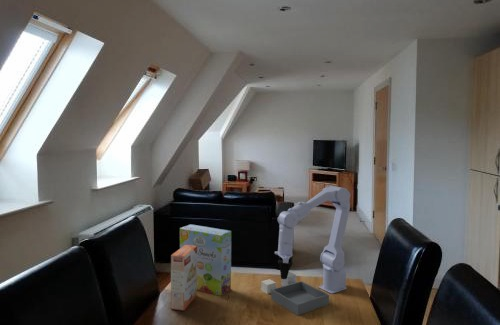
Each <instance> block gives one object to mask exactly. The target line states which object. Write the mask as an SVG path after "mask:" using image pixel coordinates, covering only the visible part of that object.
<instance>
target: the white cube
mask: <svg viewBox="0 0 500 325" xmlns="http://www.w3.org/2000/svg"><path fill="white" fill-rule="evenodd" d="M275 288H277V282H276V281H274V280H273V279H270V278H269V279H265V280H264V279H263V280H260V291H261V292H263V293H265V294H266V295H268V294H271V289H275Z"/></svg>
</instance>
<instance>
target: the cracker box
mask: <svg viewBox="0 0 500 325" xmlns="http://www.w3.org/2000/svg"><path fill="white" fill-rule="evenodd" d="M197 293H198V290H197V246H191V245H184V246H183V247H182V248H180V247H179V249H177V250H176V251H175V252H173V253H172V254H171V255H170V310H176V311H186V309H187V308H188V306H189V305H190V304H191V303H192V302H193V301H194V300H195V298H196V297H197V295H198V294H197Z"/></svg>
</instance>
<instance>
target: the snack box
mask: <svg viewBox="0 0 500 325" xmlns="http://www.w3.org/2000/svg"><path fill="white" fill-rule="evenodd" d="M184 245H191V246H197V291H201V292H203V293H204V292H206V293H209V294H211V295H215V296H219V297H222V296H223V295H225V294H226V293H227V292H228V293H229V291H231V289H232V287H231V286H232V285H231V284H232V283H231V282H232V230H228V229H222V228H221V229H220V228H215V227H209V226H203V225H196V224H188V225H185V226H182V227H179V249H180V248H182V247H183V246H184Z"/></svg>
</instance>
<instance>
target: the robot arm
mask: <svg viewBox="0 0 500 325" xmlns="http://www.w3.org/2000/svg"><path fill="white" fill-rule="evenodd" d="M351 195H352V194H351V192H349V190H348V189H347V188H346V187H339V186H335V185H333V184H330V185H327V186H326V187H324V188H322V190H321V191H320V192H319V193H317V194H316V195H314V196H313V197H312V198H310V199H308V201H298V202H297V204H296V205H294V206H292V207H291V208H290V207H289V208H288V209H287V211H285V210H283V211H281V212H280V213H279V215H278V217H277V222H278V224H279V226H278V228H279V231H278V245H277V246H278V247H277V251H274V254H275V255H276V256H277V259H278V260H277V264H278V266H279V273H280V280H281V279H287V276H288V272H290V269H291V267H292V266H293V264H294V263H293V261H290V259H291V258H292V256H293V255H294V253H293V247H294V232H295V228H296V226H297V225H298V223H299V221H301V220H302V219H304V218H305V217H307V216H309V215H310V214H311V210H313V209H314V208H317V206H320V205H322V204H323V203H325V202H330V203H332V205H333V207H334V208H335V213H334V217H333V222H332V227H331V231H330V235H329V241H328V244H327V245H325V246H324V247H323V251H322V252H321V253H320V257H319V261H320V262H321V264H322V267H323V271H322V272H323V273H322V274H323V275H322V278H323V279H322V284H321V285H319V286H318V288H319V289H320V290H322V291H324V292H326V293H328V294H337V293H338V292H341V291H345V290H347V289H348V287H346V286H347V285H346V284H347V282H346V281H347V273H346V270H345V269H344V266H345V255H346V254H345V252H344V250H343V249H342V247H343V242H344V238H345V237H344V236H345V234H346V229H347V223H348V219H349V213H350V210H351V202H350V200H351Z"/></svg>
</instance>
